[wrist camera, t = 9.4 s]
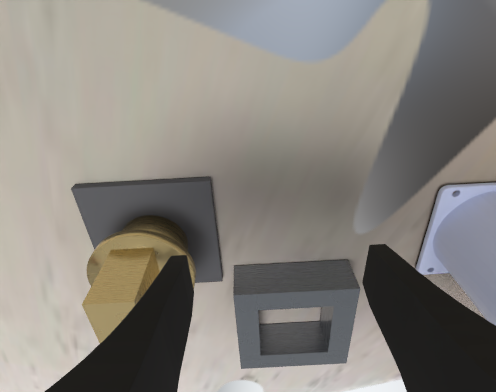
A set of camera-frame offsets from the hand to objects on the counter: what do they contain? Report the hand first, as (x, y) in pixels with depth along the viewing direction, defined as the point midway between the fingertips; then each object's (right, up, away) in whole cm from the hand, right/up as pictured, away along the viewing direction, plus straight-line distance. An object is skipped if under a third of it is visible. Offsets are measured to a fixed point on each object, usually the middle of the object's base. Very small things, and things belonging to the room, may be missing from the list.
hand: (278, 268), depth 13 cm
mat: (-8, 0, +11) cm, 13 cm away
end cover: (-8, 0, +10) cm, 13 cm away
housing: (+2, -6, +15) cm, 16 cm away
